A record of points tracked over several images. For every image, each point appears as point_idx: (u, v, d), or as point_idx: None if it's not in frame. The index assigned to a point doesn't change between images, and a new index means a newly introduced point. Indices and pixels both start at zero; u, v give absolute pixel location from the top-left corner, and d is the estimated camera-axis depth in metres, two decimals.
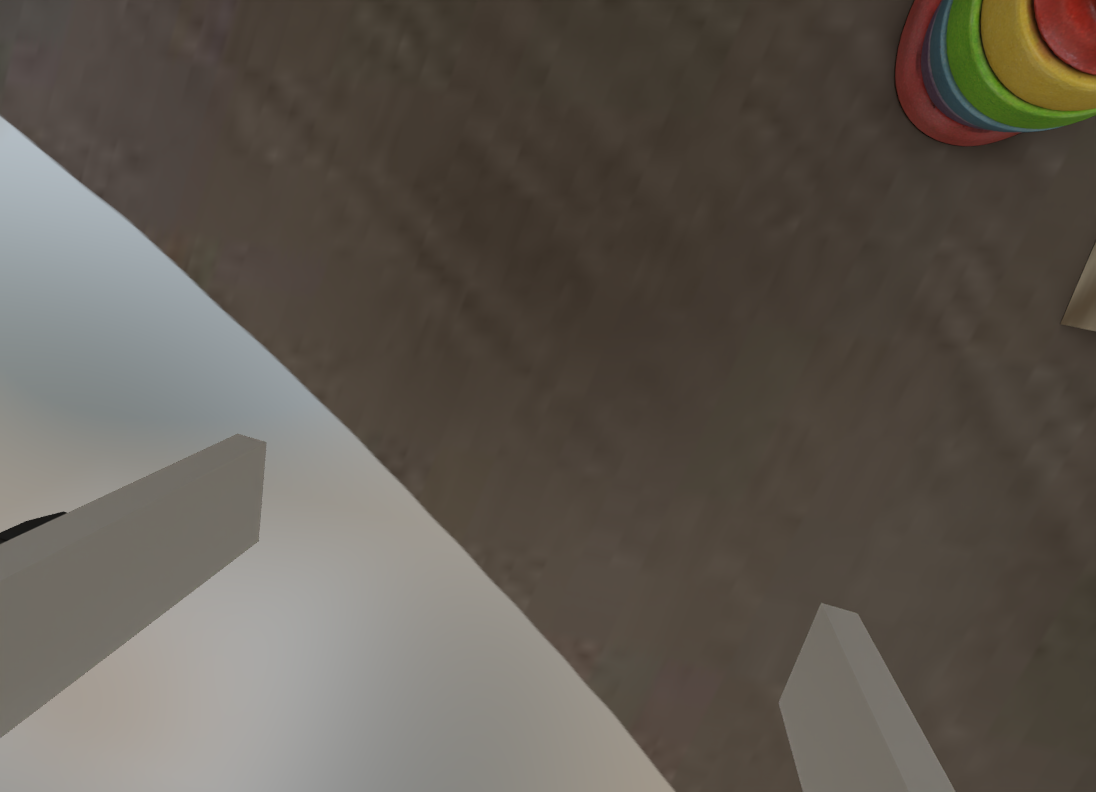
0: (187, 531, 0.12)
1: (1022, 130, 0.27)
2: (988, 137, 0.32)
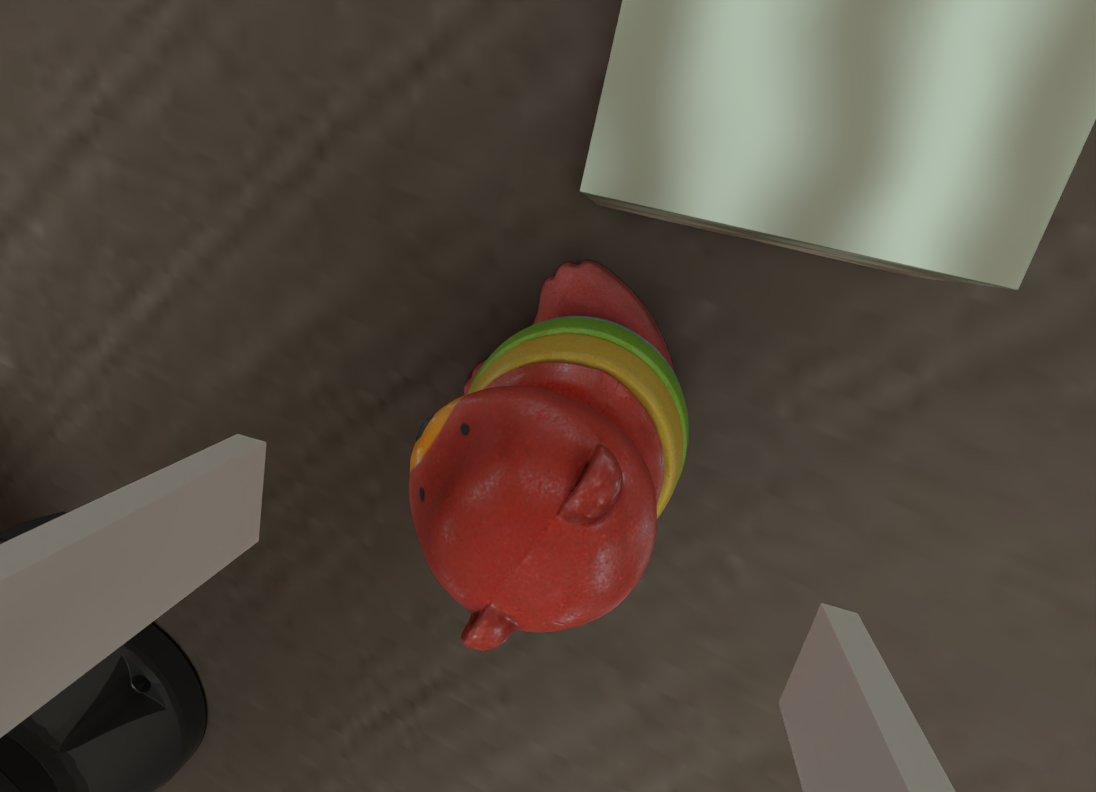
0: (187, 531, 0.12)
1: None
2: None
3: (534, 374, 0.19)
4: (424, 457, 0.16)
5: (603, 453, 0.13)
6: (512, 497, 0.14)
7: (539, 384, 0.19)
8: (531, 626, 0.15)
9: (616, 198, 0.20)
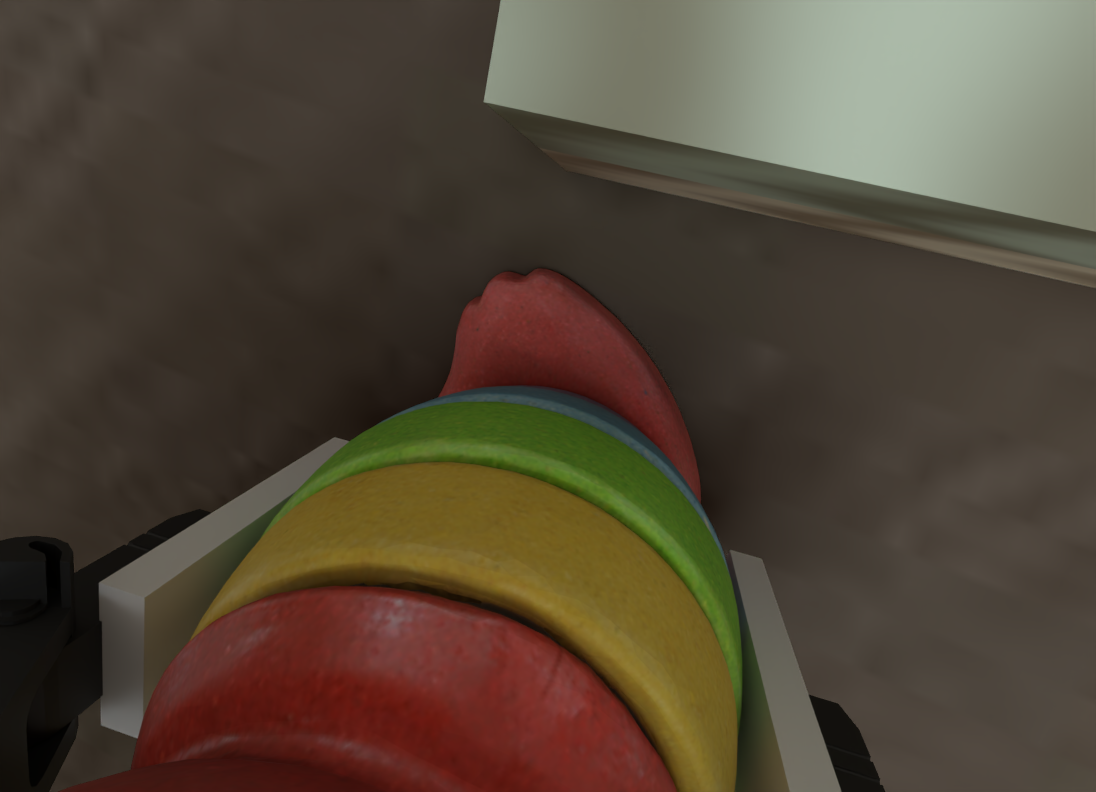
0: None
1: None
2: None
3: (298, 636, 0.06)
4: None
5: None
6: None
7: (302, 679, 0.06)
8: None
9: (580, 119, 0.08)
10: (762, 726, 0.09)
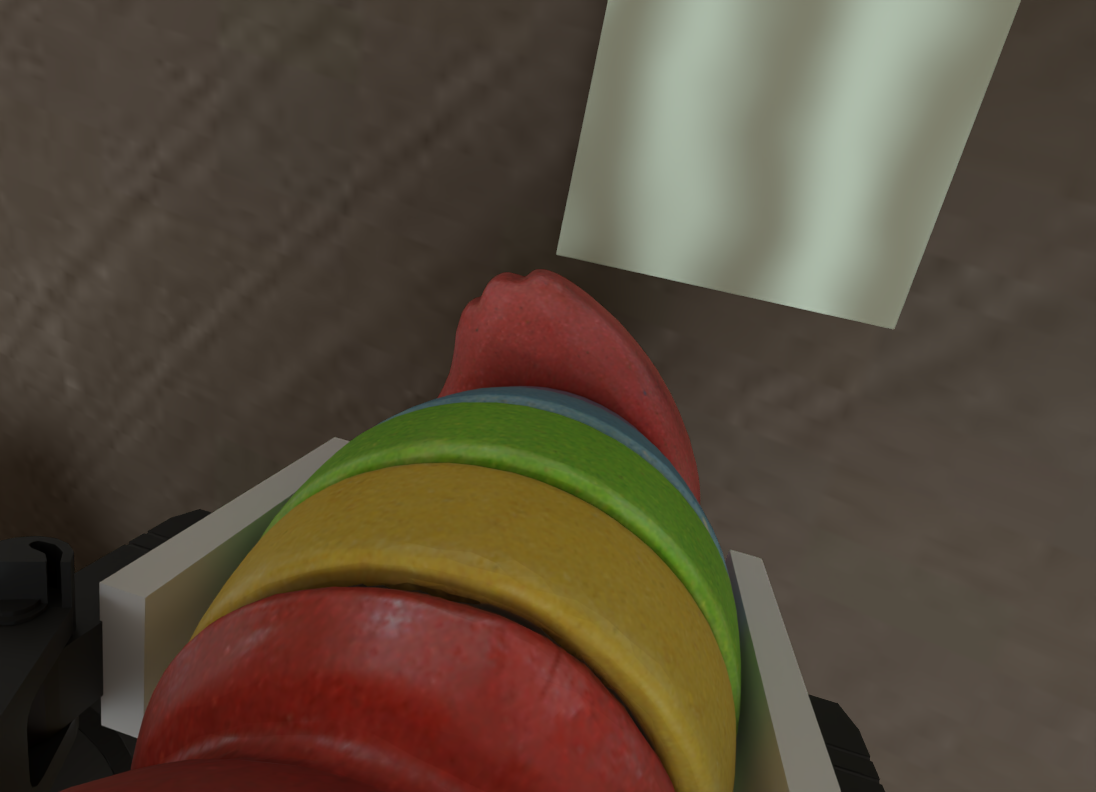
0: None
1: None
2: None
3: (297, 637, 0.06)
4: None
5: None
6: None
7: (302, 679, 0.06)
8: None
9: (584, 260, 0.26)
10: (761, 725, 0.09)
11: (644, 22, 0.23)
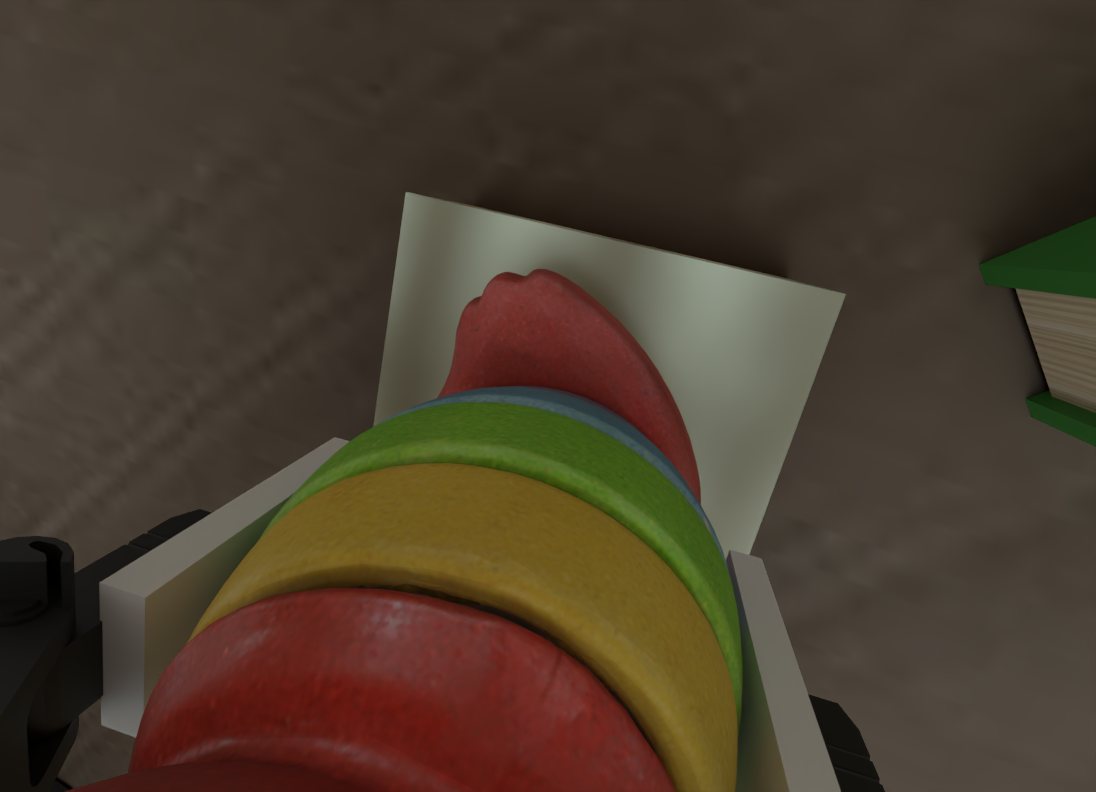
0: None
1: None
2: None
3: (296, 639, 0.06)
4: None
5: None
6: None
7: (300, 683, 0.06)
8: None
9: None
10: (761, 725, 0.09)
11: (426, 350, 0.21)
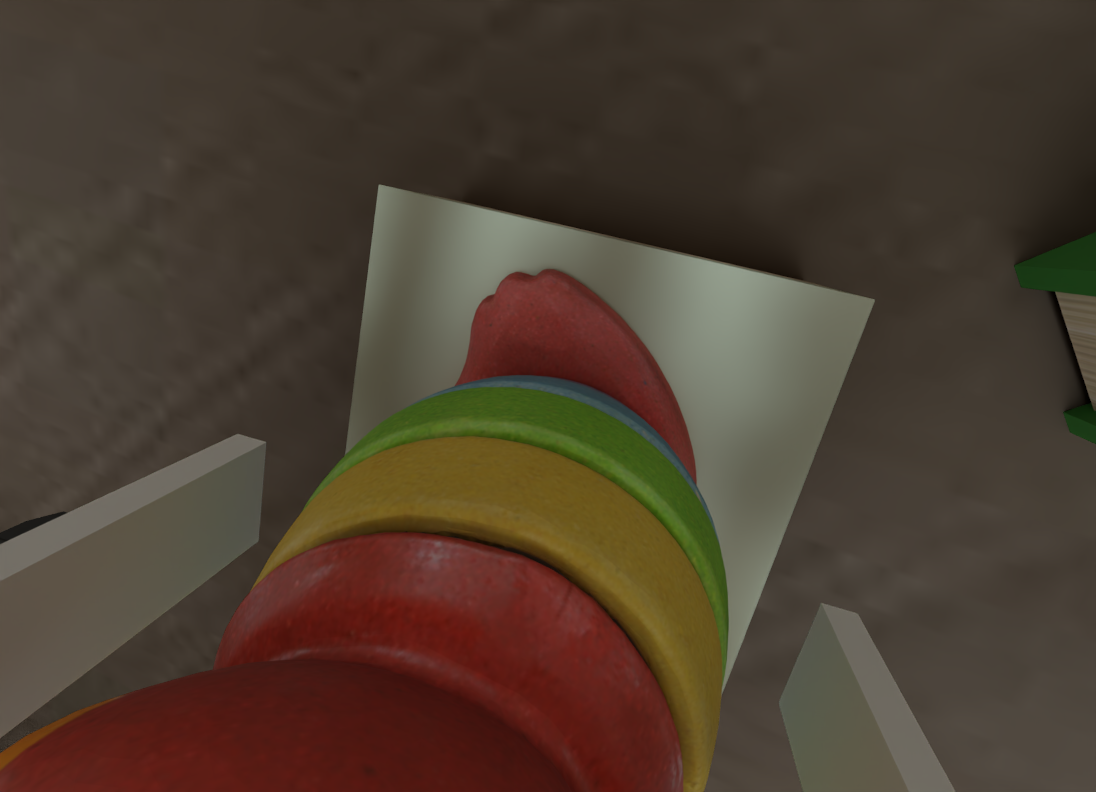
0: (187, 531, 0.12)
1: None
2: None
3: (356, 571, 0.07)
4: None
5: None
6: None
7: (361, 604, 0.07)
8: None
9: None
10: None
11: (403, 361, 0.19)
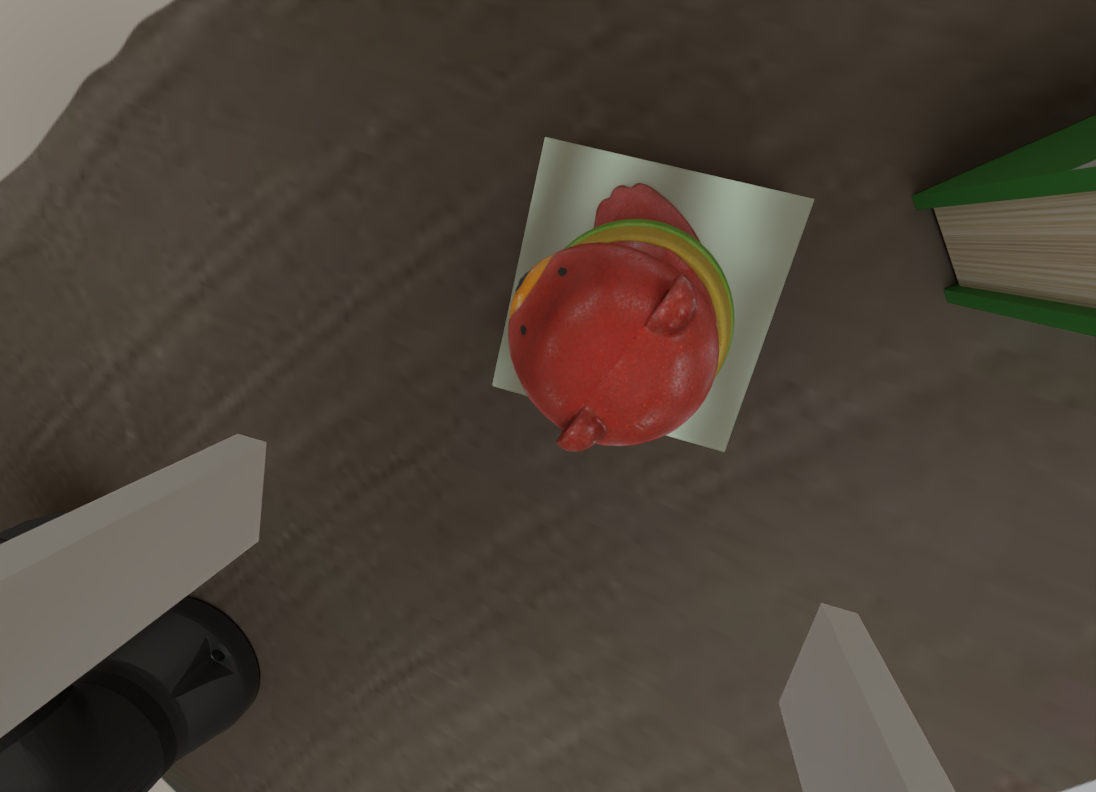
0: (187, 531, 0.12)
1: None
2: None
3: None
4: (524, 301, 0.19)
5: (683, 276, 0.17)
6: (607, 312, 0.17)
7: None
8: (616, 430, 0.18)
9: (512, 391, 0.37)
10: None
11: (550, 239, 0.34)
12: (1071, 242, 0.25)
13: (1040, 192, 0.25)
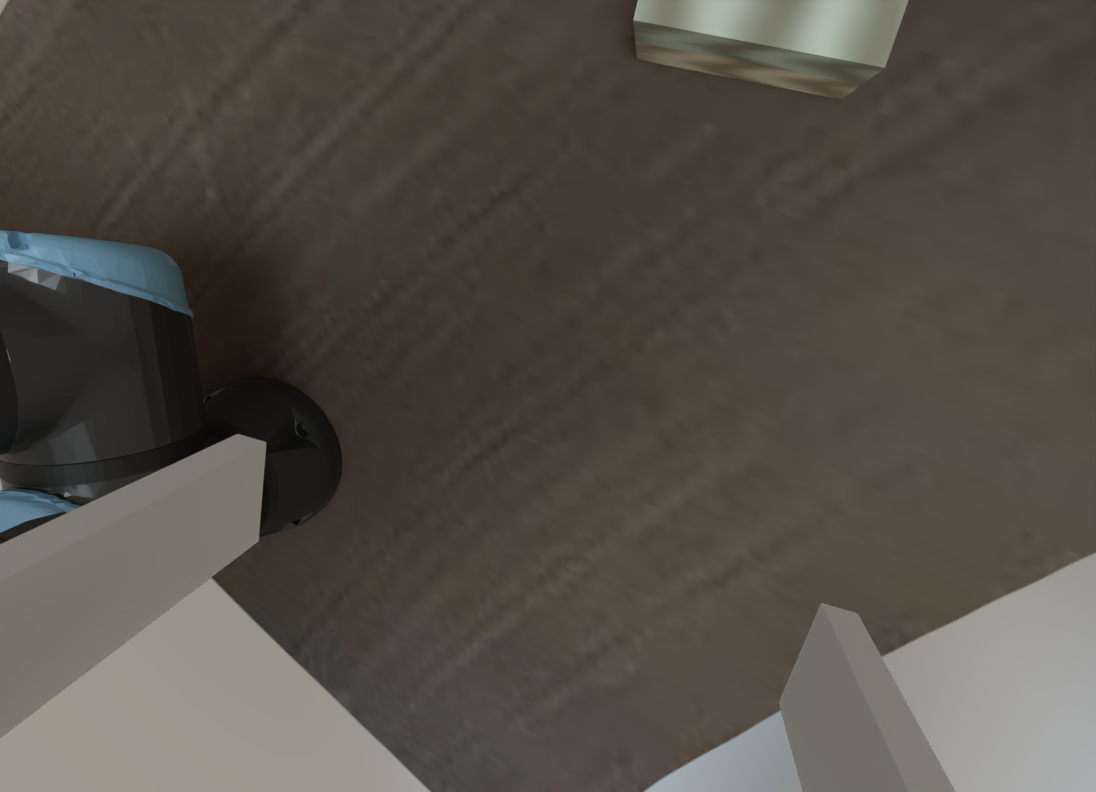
0: (187, 531, 0.12)
1: None
2: None
3: None
4: None
5: None
6: None
7: None
8: None
9: (654, 23, 0.35)
10: None
11: None
12: None
13: None
